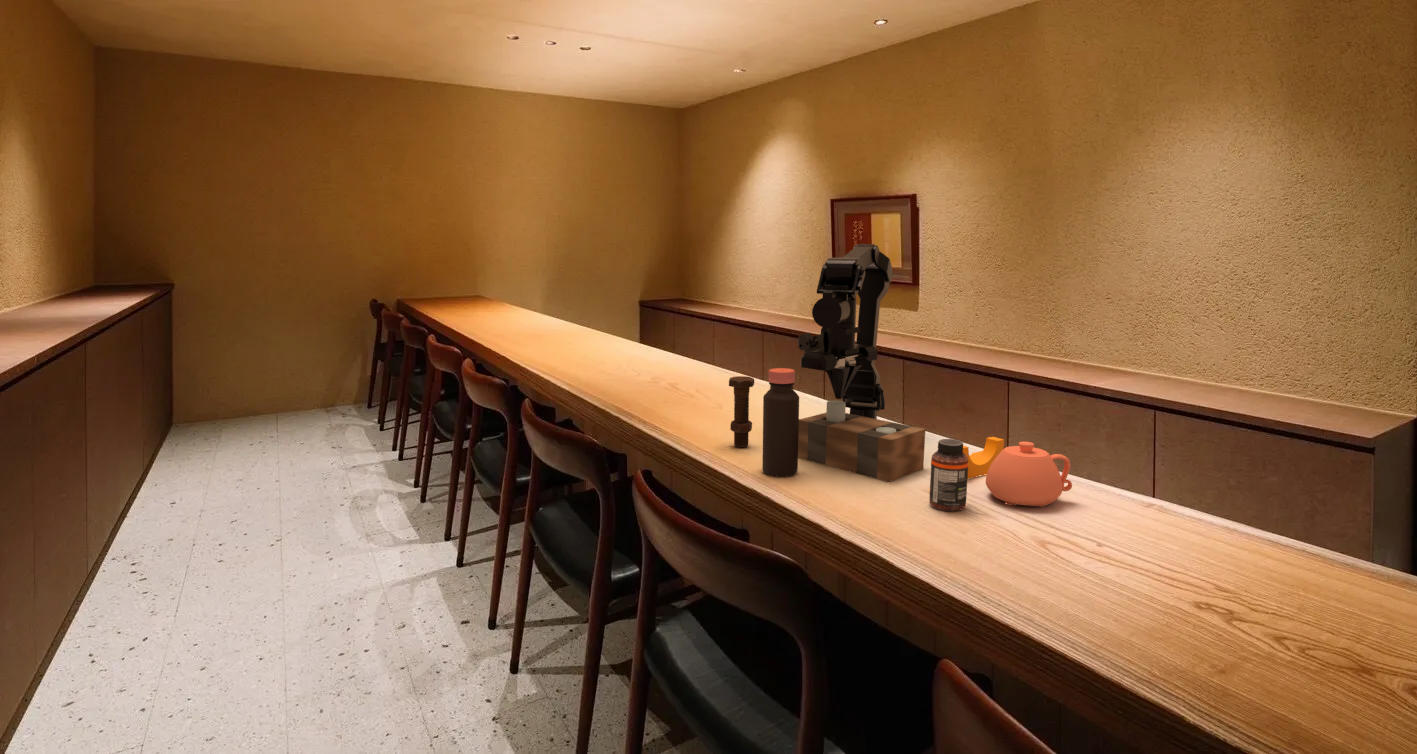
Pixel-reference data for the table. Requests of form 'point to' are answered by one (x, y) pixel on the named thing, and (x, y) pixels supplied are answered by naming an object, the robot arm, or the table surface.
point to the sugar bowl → (1027, 476)
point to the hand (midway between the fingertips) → (838, 398)
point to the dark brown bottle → (780, 424)
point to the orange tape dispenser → (983, 457)
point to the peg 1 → (835, 411)
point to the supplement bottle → (949, 476)
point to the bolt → (741, 409)
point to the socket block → (862, 446)
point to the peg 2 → (886, 430)
